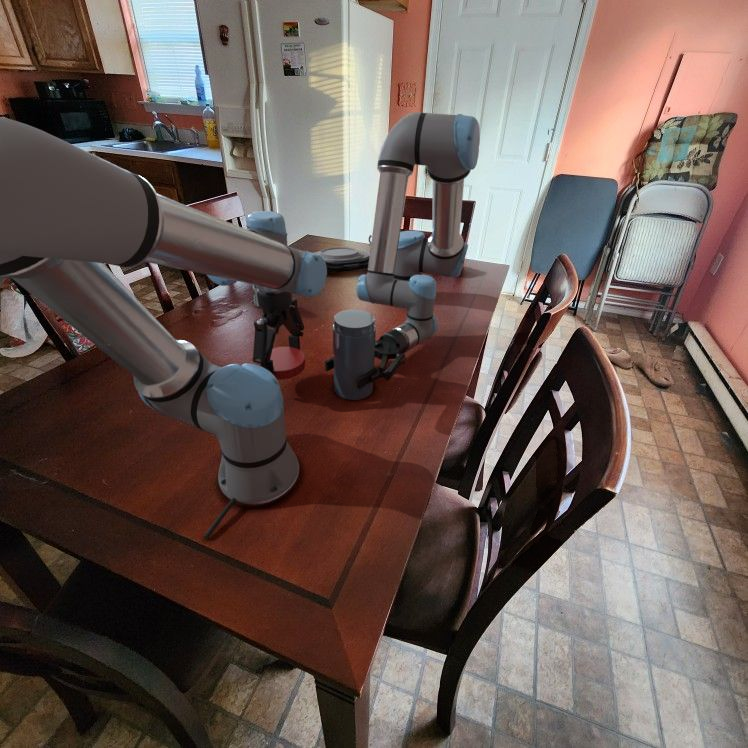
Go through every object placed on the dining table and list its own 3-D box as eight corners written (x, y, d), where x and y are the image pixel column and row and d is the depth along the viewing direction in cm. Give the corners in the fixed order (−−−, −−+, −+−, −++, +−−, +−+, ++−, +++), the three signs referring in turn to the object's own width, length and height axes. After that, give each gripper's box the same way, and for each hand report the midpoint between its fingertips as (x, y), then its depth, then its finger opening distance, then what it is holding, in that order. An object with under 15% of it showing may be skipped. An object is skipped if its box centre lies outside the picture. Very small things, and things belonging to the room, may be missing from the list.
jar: (332, 399, 102) (330, 328, 90) (335, 376, 110) (334, 307, 99) (373, 400, 102) (376, 329, 91) (373, 377, 110) (376, 309, 99)
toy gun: (253, 302, 130) (249, 271, 129) (255, 311, 148) (252, 283, 148) (265, 302, 130) (261, 270, 130) (266, 310, 149) (262, 282, 149)
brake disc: (383, 272, 171) (383, 261, 168) (311, 277, 163) (310, 266, 161) (363, 249, 196) (363, 238, 193) (300, 252, 189) (299, 242, 186)
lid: (302, 352, 108) (301, 344, 106) (307, 376, 99) (307, 368, 98) (259, 357, 105) (258, 349, 104) (261, 382, 97) (259, 373, 95)
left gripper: (255, 312, 80) (269, 400, 93) (315, 272, 98) (319, 350, 110) (224, 305, 82) (241, 392, 95) (288, 266, 100) (295, 344, 113)
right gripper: (430, 368, 110) (377, 407, 96) (366, 338, 122) (310, 369, 108) (433, 344, 106) (378, 381, 92) (367, 316, 118) (309, 344, 103)
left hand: (283, 369), depth 103 cm, fingers closed on lid, 11 cm apart
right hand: (341, 375), depth 100 cm, fingers closed on jar, 10 cm apart
